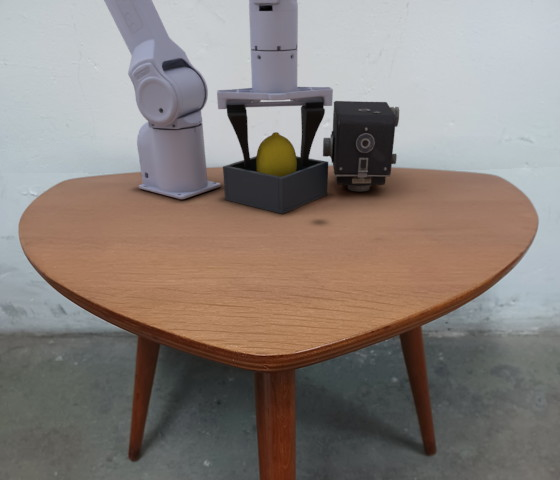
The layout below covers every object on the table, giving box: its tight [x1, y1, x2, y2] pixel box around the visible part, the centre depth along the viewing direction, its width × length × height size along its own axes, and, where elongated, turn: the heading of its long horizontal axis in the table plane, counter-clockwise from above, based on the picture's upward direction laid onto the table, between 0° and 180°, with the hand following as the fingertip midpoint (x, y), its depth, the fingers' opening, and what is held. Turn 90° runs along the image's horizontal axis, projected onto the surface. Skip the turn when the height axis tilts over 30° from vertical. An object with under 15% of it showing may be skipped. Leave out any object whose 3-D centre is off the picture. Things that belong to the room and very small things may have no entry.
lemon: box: [256, 131, 297, 177], centre depth 75 cm, size 6×6×8 cm
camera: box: [322, 100, 400, 192], centre depth 79 cm, size 11×11×15 cm
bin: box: [222, 155, 329, 215], centre depth 76 cm, size 10×10×4 cm
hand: (275, 165), depth 75 cm, fingers open, 7 cm apart
